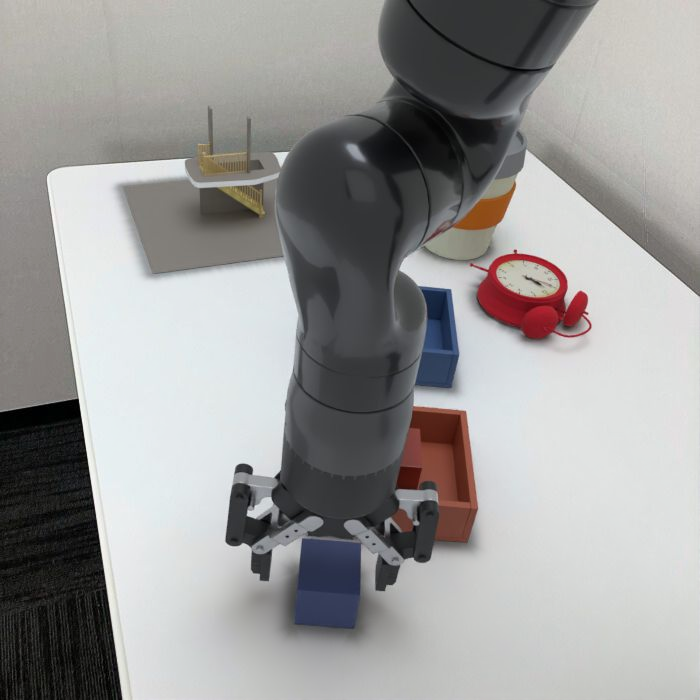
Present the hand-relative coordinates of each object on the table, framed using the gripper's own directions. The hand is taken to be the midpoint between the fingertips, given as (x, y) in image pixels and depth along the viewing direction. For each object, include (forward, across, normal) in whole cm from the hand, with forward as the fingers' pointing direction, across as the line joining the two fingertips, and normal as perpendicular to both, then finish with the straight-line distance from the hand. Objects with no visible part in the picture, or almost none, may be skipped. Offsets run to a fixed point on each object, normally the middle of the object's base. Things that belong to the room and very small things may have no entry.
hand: (323, 575), depth 57 cm
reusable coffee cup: (+3, +15, +54) cm, 56 cm away
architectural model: (+4, -14, +55) cm, 57 cm away
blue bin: (+3, +6, +31) cm, 32 cm away
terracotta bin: (+3, +6, +12) cm, 13 cm away
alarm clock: (+3, +23, +40) cm, 46 cm away
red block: (+3, +5, +12) cm, 13 cm away
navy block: (+3, 0, 0) cm, 3 cm away
